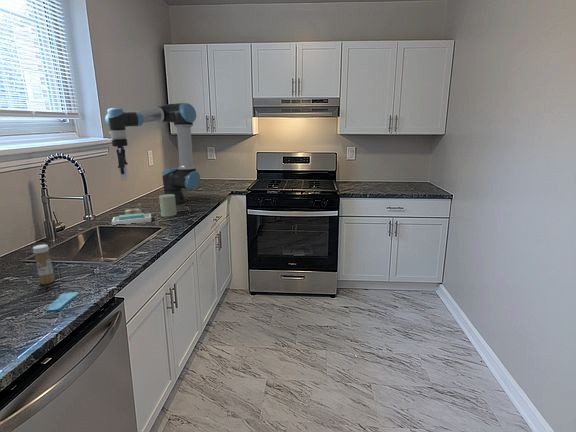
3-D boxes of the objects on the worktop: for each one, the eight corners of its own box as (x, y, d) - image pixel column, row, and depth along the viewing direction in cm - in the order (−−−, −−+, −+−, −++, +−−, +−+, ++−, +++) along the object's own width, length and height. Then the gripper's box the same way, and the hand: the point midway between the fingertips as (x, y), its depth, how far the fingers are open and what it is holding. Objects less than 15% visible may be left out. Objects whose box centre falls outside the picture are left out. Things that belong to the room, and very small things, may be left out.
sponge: (38, 311, 111) (57, 308, 110) (61, 292, 122) (79, 290, 122) (40, 315, 111) (59, 313, 111) (63, 296, 122) (80, 294, 122)
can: (164, 217, 216) (162, 197, 213) (158, 214, 223) (156, 194, 219) (179, 214, 221) (177, 194, 218) (173, 211, 228) (171, 192, 225)
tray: (151, 217, 216) (150, 213, 215) (151, 221, 207) (150, 217, 206) (113, 221, 210) (113, 217, 209) (112, 226, 200) (111, 221, 200)
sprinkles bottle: (37, 284, 130) (29, 248, 126) (45, 279, 134) (38, 244, 131) (50, 284, 130) (42, 248, 126) (57, 279, 134) (50, 243, 130)
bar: (144, 217, 212) (144, 212, 212) (144, 219, 208) (143, 214, 207) (120, 220, 208) (119, 215, 207) (119, 222, 204) (118, 217, 203)
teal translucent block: (142, 215, 221) (140, 203, 219) (142, 217, 217) (140, 204, 215) (126, 217, 218) (124, 204, 216) (125, 218, 214) (123, 206, 212)
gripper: (113, 137, 206) (118, 175, 212) (108, 139, 184) (115, 182, 189) (128, 137, 209) (133, 174, 214) (125, 139, 186) (131, 181, 191)
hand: (124, 178), depth 202 cm, fingers open, 13 cm apart
